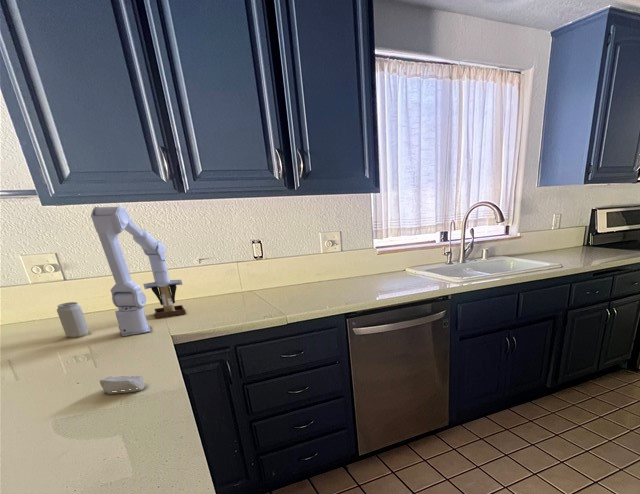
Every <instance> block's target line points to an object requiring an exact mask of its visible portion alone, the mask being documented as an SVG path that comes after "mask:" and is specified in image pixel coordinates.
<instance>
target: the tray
mask: <svg viewBox="0 0 640 494" xmlns="http://www.w3.org/2000/svg"><path fill="white" fill-rule="evenodd" d="M174 308H175V311H169V312H164V308H163V307H158V308H157V307H156V308H154V313H155V317H156V319H164V318H169V317H177V316H182V315H183V316H184V315H186V309H185V308H184V305H182V304H179V305H174Z"/></svg>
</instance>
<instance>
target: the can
mask: <svg viewBox="0 0 640 494" xmlns="http://www.w3.org/2000/svg"><path fill="white" fill-rule="evenodd" d="M56 307H57V309H56V313H57V316H58V318H59V320H60V324H61V326H62V329H63V331H64V335H65V336H67V337H68V338H72V339H73V338H74V339H75V338H81V337H84V336H87V335H88V333H89V332H90V330H89V327H88V324H87V321H86V317H85V315H84V312H83V309H82V306H81V305H80V304H78V302H77V301H76V302H75V301H71V302H70V301H69V302H64V303H60V304H58V305H57V306H56Z"/></svg>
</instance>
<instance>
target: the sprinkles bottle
mask: <svg viewBox="0 0 640 494" xmlns="http://www.w3.org/2000/svg"><path fill="white" fill-rule="evenodd" d="M158 290H159V294H160V298H161V301H162V304H163V305H162V308H164V312H169V311H175V308H174V306H175V305H174V304H175V303H173V299H172V295H171V291H170V287H169V284H168V285H159V286H158Z"/></svg>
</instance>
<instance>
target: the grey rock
mask: <svg viewBox="0 0 640 494" xmlns="http://www.w3.org/2000/svg"><path fill="white" fill-rule="evenodd" d="M143 383H144V384H143ZM99 384H100V386H101V388H102V390H103V391H104V392H106V393H105V394H108V395H114V394H115V395H117V394H128V393H135V392H140V391H143V389H144V388H145V385H146V383H145V382H144V377H143V376H142V375H135V376H134V375H132V376H131V375H126V376H125V375H120V376H107V377H105V378H102V379H99ZM142 384H143V385H142ZM139 387H140V388H139ZM136 388H138V389H136ZM129 389H131V390H129ZM121 390H125V391H121ZM112 391H117V392H112Z"/></svg>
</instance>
